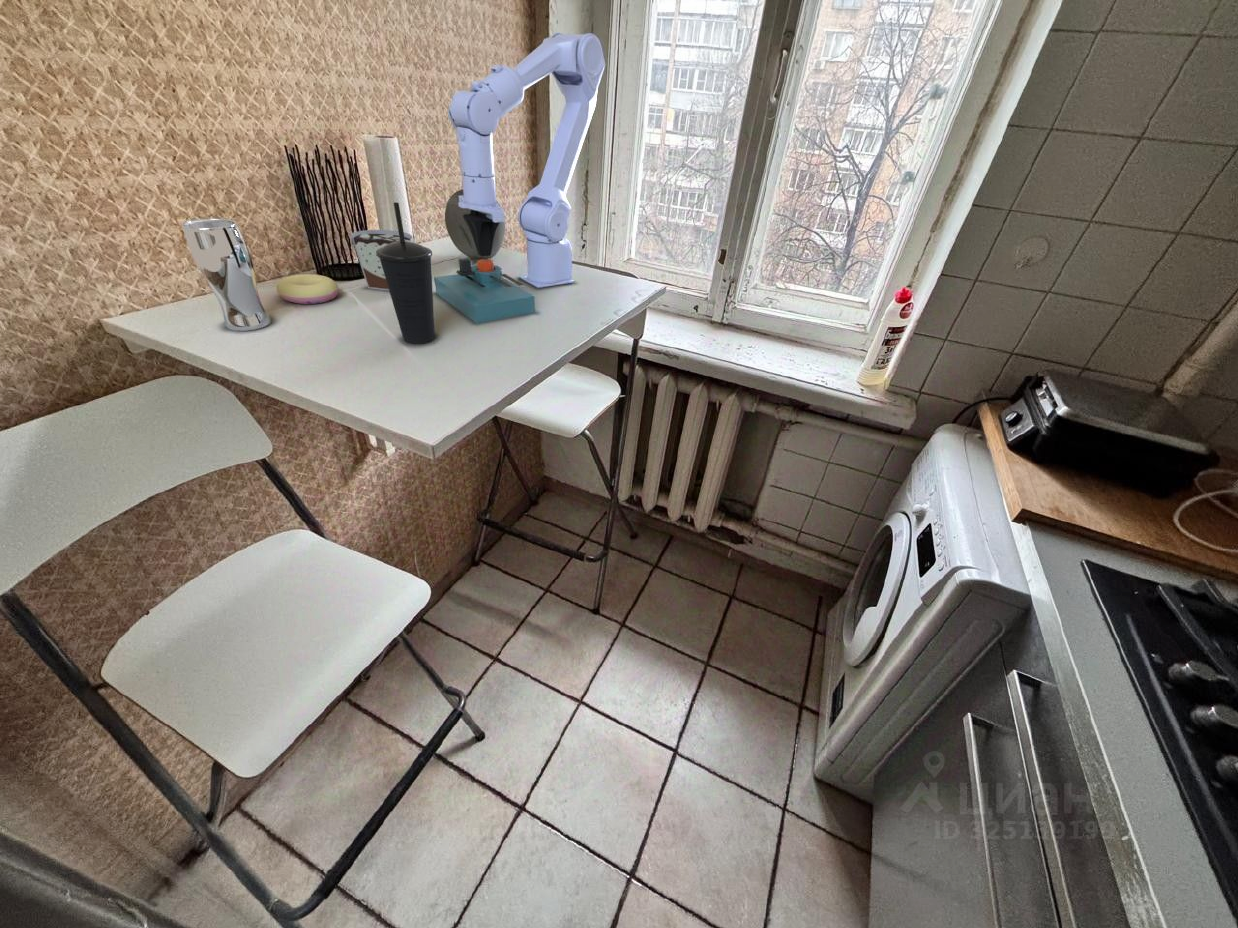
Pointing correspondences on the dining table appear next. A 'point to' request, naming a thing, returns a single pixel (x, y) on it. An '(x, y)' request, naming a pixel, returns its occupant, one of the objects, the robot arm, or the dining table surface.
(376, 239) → the food container
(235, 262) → the chrome curved vase
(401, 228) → the drinking cup
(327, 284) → the donut
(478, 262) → the button
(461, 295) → the teal control box
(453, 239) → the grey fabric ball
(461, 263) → the slider
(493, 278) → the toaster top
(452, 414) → the dining table surface
